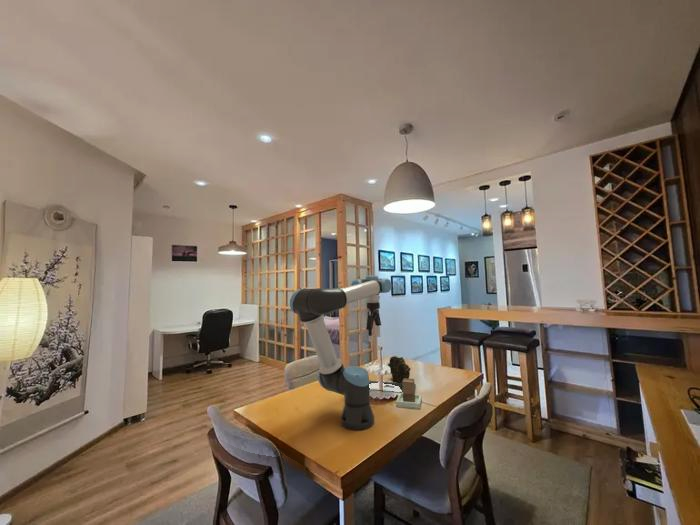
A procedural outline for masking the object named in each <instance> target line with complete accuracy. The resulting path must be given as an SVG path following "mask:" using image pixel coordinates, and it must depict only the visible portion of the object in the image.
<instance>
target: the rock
mask: <svg viewBox="0 0 700 525" xmlns="http://www.w3.org/2000/svg"><path fill="white" fill-rule="evenodd" d="M387 367H388V368H390V374H391V378H392V382H395V383H402V381H403V379H404V378H408V379H410V374H411V373H410V371H411V367H409V365H408V364H407V363H406V361H405V359H404V357H403V356H401V357H398V356H396V355H395V356H394V355H393V356H391V357H390V358H389V363H388V364H387Z"/></svg>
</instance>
